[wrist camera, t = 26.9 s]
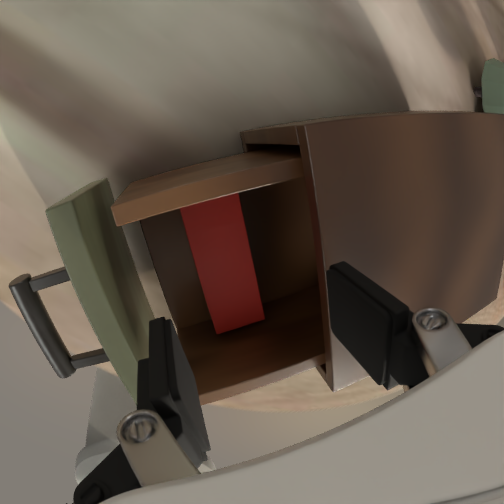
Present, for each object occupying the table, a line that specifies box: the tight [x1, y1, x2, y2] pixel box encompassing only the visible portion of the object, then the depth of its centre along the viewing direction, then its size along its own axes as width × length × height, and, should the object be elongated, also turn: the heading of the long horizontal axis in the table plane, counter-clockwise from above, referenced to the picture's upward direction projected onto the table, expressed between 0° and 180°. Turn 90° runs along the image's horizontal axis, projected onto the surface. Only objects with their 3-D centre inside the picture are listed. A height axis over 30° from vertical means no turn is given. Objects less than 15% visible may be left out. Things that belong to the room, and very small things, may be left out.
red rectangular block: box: [180, 193, 265, 334], centre depth 18 cm, size 8×3×3 cm, turn 11°
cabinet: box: [240, 111, 504, 392], centre depth 18 cm, size 15×13×10 cm
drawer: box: [9, 145, 326, 405], centre depth 16 cm, size 18×12×8 cm, turn 101°
